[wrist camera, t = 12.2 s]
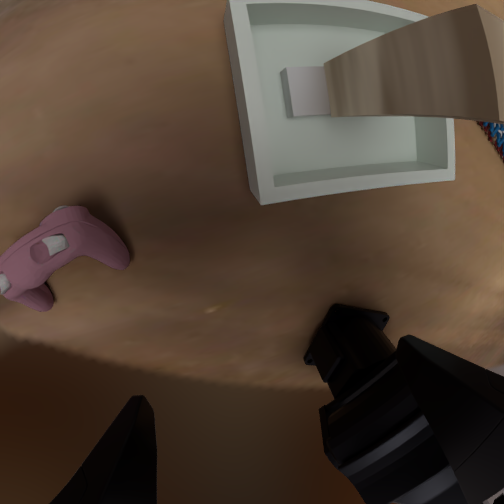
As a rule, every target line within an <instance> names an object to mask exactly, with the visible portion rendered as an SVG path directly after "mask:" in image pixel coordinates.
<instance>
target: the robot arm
mask: <svg viewBox="0 0 504 504" xmlns="http://www.w3.org/2000/svg"><path fill="white" fill-rule="evenodd" d="M337 309H338V310H337ZM336 310H337V311H336ZM335 311H336V312H335ZM388 320H389V315H388V314H387V313H384V312H378V311H372V310H367V309H361V308H356V307H350V306H345V305H340V304H335V305H333V306H332V307H331V309H330V311H329V313H328V314H327V316H326V318H325V320H324V322H323V324H322V326H321V327H320V329H319V331H318V333H317V334H316V336H315V338H314V340H313V342H312V344H311V345H310V347H309V350H308V352H307V353H306V355H305V357H304V362H305V364H306V365H315V366H316V367H317V369H318V371H319V373H320V375H321V378H322V380H323V382H325V383H328V386H329V388H330V390H331V392H332V394H333V396H334V400H333V401H331V402H330V403H328V404H327V405H324V406H322V407H321V408H319V414H320V422H321V430H322V437H323V445H324V452H325V454H326V456H327V457H328V459H329V461H331V463H332V464H333V465H334V466H335V467H336V468H337V469H338V470H339V471H340V472H342V473H343V474H344V475H345V476H346V477H347V478H348V479H349V480H350V481H351V483H352V484H353V485H354V486H355V488H356V489H357V491H358V492H359V494H360V495H361V497H362V498H363V500H364V502H365V503H366V504H390V503H392V502H394V503H398V504H489V502H488V501H487V499H488V498H490V497H491V496H493V495H495V494H496V493H497V492H499V491H500V490H502V492H503V493H502V494H501V495H500V496H499V497H497V498H496V499H495V500H494V503H493V504H504V377H503V376H501V375H499V374H496V373H494V372H492V371H490V370H487V369H486V370H485V368H483V367H480V366H478V365H476V364H474V363H472V362H469V361H467V360H465V359H463V358H461V357H458V356H456V355H454V354H452V353H450V352H447V351H445V350H443V349H441V348H439V347H436V346H434V345H432V344H430V343H428V342H425V341H423V340H421V339H419V338H417V337H415V336H412V335H406V336H403V337H401V338H400V339H399V341H398V346H397V349H396V348H395V347H394V346H393V344H392V343H391V342H390V340H389V339H388V338H387V336H386V335H385V334H384V333H383V329H384V327H385V326H386V324H387V322H388ZM309 359H310V360H309ZM50 504H157V444H156V432H155V418H154V411H153V408H152V407H151V405H150V403H149V402H148V401H147V399H146V397H145V396H144V395H133V396H132V397H131V398H130V399H129V400H128V402H127V403H126V405H125V406H124V407H123V409H122V410H121V411H120V413H119V414H118V415H117V417H116V418H115V420H114V421H113V422H112V424H111V425H110V426H109V428H108V429H107V430H106V432H105V433H104V435H103V436H102V437H101V439H100V440H99V442H98V443H97V444H96V446H95V447H94V449H93V450H92V451H91V452H90V454H89V455H88V457H87V458H86V459H85V461H84V462H83V463H82V466H80V468H79V469H78V470H77V472H76V473H75V474H74V476H73V477H72V478H71V480H70V481H69V482H68V483H67V485H66V486H65V487H64V488H63V489H62V490H61V491H60V493H59V494H58V495H57V496H56V497H55V498H54V499H53V500H52V501H51V502H50Z"/></svg>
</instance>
